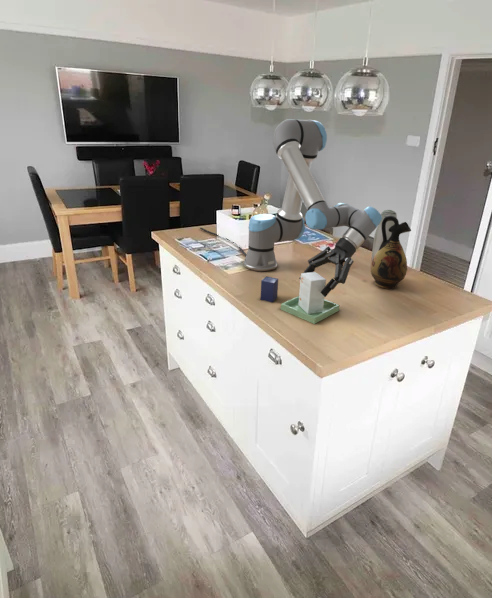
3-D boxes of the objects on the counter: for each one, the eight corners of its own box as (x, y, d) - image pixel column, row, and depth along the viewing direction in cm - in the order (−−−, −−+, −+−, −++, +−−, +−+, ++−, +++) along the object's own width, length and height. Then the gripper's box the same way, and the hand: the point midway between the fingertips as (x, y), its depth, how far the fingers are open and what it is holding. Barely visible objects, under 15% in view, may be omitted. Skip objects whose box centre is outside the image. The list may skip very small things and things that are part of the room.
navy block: (260, 299, 160) (261, 280, 156) (265, 295, 164) (266, 276, 161) (272, 302, 158) (273, 283, 155) (277, 297, 163) (278, 278, 159)
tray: (280, 309, 153) (280, 303, 152) (306, 297, 165) (306, 292, 164) (314, 324, 145) (315, 318, 144) (339, 310, 156) (339, 305, 155)
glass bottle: (382, 262, 210) (391, 207, 198) (394, 269, 202) (405, 212, 190) (366, 264, 206) (374, 207, 194) (378, 271, 198) (388, 213, 186)
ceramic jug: (407, 283, 186) (420, 217, 174) (398, 294, 174) (411, 224, 161) (371, 274, 193) (381, 210, 181) (359, 285, 181) (370, 216, 168)
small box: (323, 312, 153) (326, 279, 147) (307, 314, 150) (311, 281, 145) (312, 303, 159) (315, 271, 154) (297, 305, 156) (300, 273, 151)
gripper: (376, 260, 146) (337, 306, 144) (333, 240, 164) (298, 280, 163) (367, 247, 141) (327, 295, 139) (323, 228, 159) (287, 269, 158)
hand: (311, 287), depth 151 cm, fingers open, 13 cm apart
